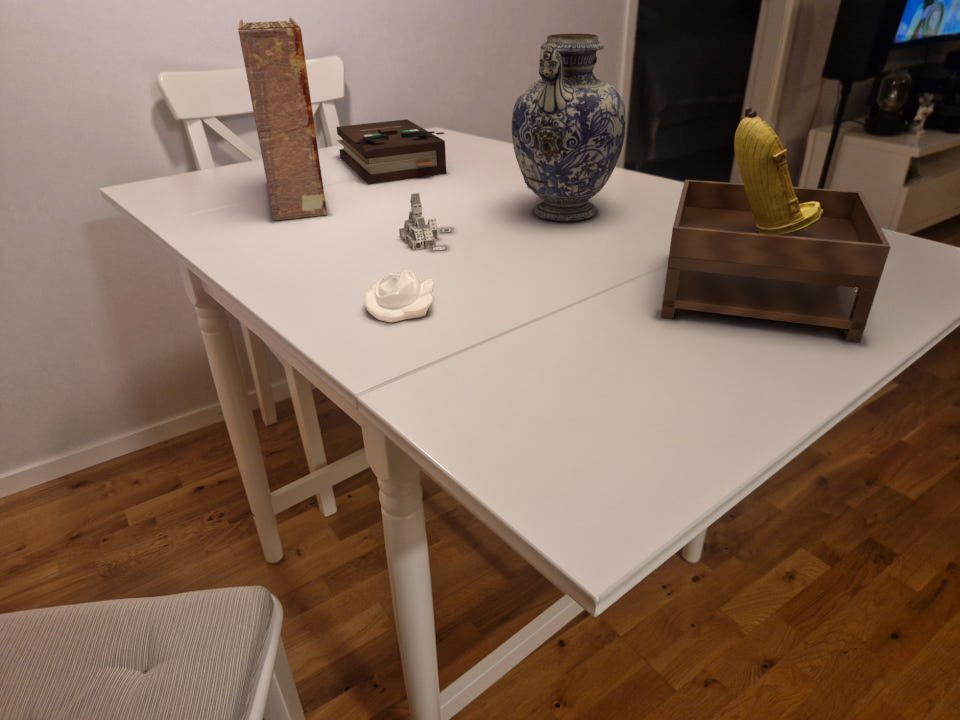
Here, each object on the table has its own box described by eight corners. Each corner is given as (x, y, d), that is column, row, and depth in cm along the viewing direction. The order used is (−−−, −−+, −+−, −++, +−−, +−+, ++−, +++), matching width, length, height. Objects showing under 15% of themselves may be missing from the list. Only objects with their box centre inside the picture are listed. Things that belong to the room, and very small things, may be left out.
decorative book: (408, 113, 157) (454, 138, 133) (410, 145, 161) (455, 175, 137) (328, 121, 150) (361, 149, 127) (332, 155, 154) (365, 188, 131)
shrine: (723, 245, 79) (746, 114, 71) (715, 222, 86) (735, 101, 78) (825, 250, 77) (861, 115, 69) (809, 226, 84) (839, 101, 76)
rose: (454, 271, 83) (398, 297, 76) (455, 303, 85) (401, 331, 79) (399, 253, 88) (343, 276, 82) (401, 283, 91) (347, 308, 84)
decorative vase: (536, 190, 127) (539, 28, 113) (631, 200, 120) (648, 29, 106) (490, 224, 110) (488, 40, 96) (598, 239, 103) (612, 43, 89)
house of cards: (469, 245, 102) (467, 197, 99) (416, 254, 100) (412, 205, 96) (449, 227, 110) (447, 181, 106) (399, 235, 107) (394, 189, 103)
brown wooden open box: (838, 274, 90) (862, 191, 84) (860, 342, 74) (890, 246, 68) (673, 257, 97) (684, 179, 91) (660, 317, 80) (672, 227, 74)
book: (270, 183, 135) (239, 19, 120) (315, 178, 137) (291, 17, 122) (274, 221, 114) (237, 29, 99) (327, 215, 116) (300, 26, 101)
